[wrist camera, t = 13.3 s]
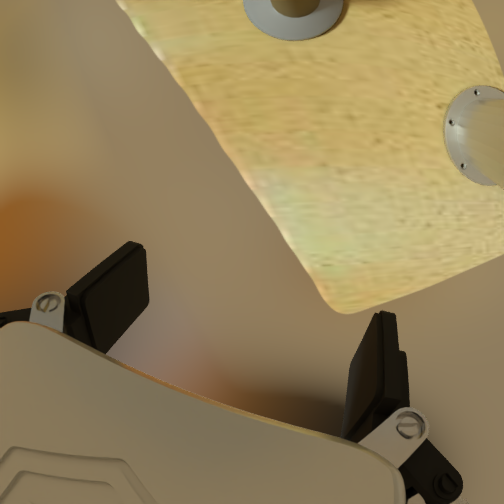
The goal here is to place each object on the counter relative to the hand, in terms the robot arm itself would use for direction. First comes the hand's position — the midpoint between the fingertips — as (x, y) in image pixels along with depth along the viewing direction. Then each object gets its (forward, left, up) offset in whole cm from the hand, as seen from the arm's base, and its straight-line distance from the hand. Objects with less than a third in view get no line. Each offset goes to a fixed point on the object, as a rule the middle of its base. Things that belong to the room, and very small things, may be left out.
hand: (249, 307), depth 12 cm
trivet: (+6, -20, -30) cm, 37 cm away
